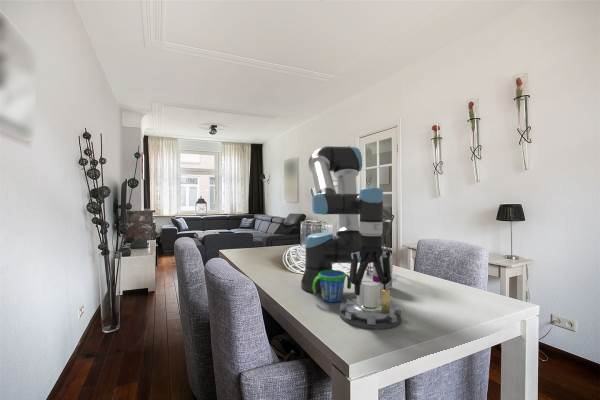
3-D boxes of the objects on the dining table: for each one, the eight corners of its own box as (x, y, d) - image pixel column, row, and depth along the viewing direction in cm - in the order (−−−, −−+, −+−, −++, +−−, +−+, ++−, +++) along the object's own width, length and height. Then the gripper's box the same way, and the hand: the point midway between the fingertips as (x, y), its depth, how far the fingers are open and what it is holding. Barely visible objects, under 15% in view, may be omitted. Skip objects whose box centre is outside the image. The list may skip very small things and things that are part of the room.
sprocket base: (329, 320, 95) (329, 317, 95) (351, 301, 113) (351, 298, 113) (394, 335, 86) (394, 332, 86) (406, 311, 103) (406, 308, 103)
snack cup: (316, 306, 108) (316, 278, 107) (308, 296, 118) (308, 270, 118) (356, 302, 111) (356, 275, 111) (345, 293, 122) (345, 268, 121)
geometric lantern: (393, 272, 156) (395, 205, 154) (389, 280, 142) (391, 207, 140) (363, 268, 163) (364, 204, 161) (356, 276, 148) (358, 205, 147)
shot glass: (381, 309, 95) (381, 287, 95) (359, 307, 96) (359, 285, 96) (379, 301, 102) (380, 281, 102) (359, 300, 103) (359, 279, 103)
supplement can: (371, 289, 128) (371, 254, 127) (374, 283, 135) (374, 250, 135) (391, 291, 125) (391, 255, 124) (392, 286, 132) (393, 252, 132)
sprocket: (372, 330, 86) (372, 299, 85) (328, 308, 102) (328, 282, 102) (413, 315, 97) (414, 287, 97) (367, 297, 113) (368, 274, 113)
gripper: (348, 236, 92) (347, 310, 93) (403, 235, 98) (402, 304, 98) (338, 233, 100) (337, 302, 100) (390, 232, 105) (389, 297, 105)
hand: (369, 303), depth 99 cm, fingers closed on shot glass, 7 cm apart
